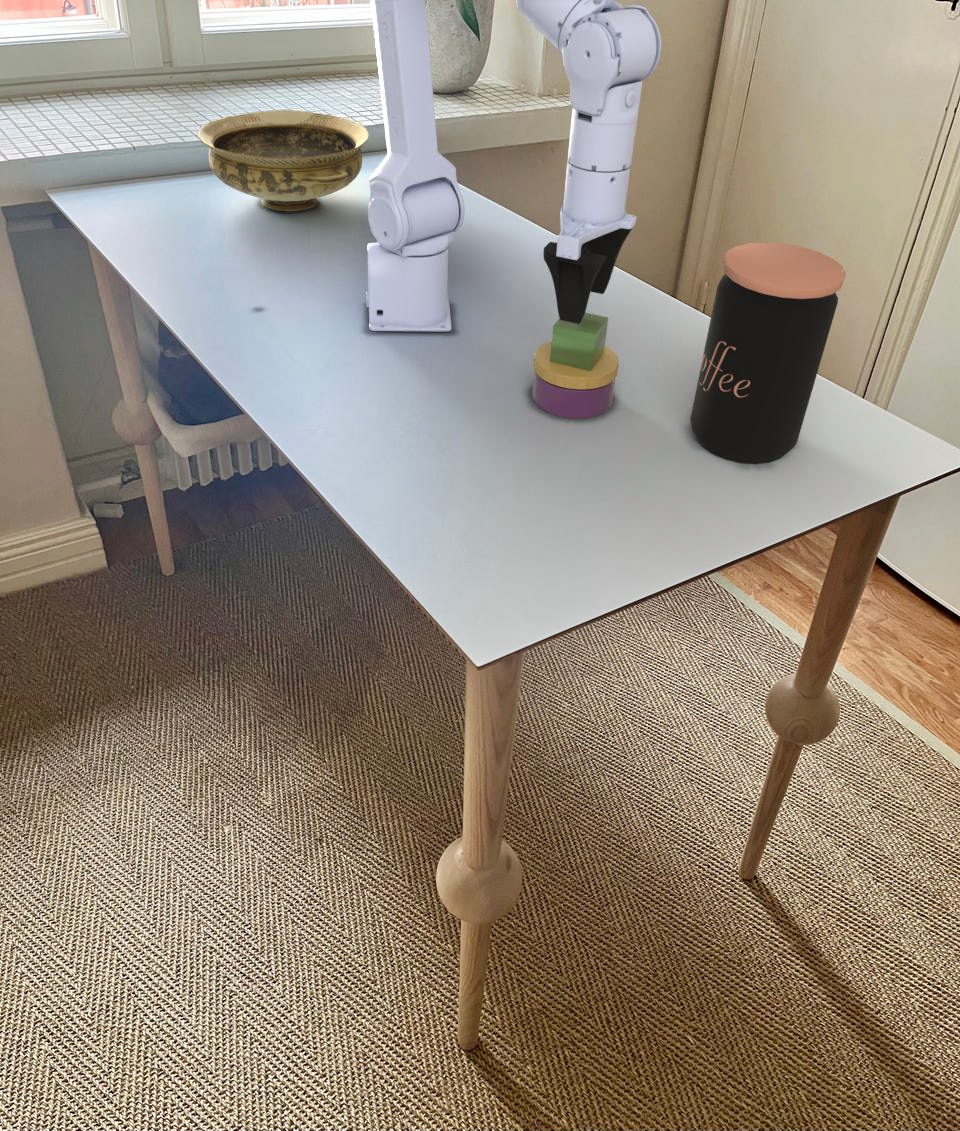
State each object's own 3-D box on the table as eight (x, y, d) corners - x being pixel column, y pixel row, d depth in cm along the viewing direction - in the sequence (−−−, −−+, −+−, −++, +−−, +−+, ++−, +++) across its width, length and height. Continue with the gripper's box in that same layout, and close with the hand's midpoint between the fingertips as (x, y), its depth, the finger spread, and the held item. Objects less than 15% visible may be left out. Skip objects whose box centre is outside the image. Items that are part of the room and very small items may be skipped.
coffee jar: (676, 411, 101) (709, 241, 90) (775, 411, 102) (821, 242, 91) (703, 468, 93) (743, 288, 82) (811, 467, 94) (865, 289, 83)
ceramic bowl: (412, 220, 141) (412, 148, 134) (259, 251, 130) (251, 173, 123) (315, 162, 159) (310, 96, 153) (174, 184, 148) (163, 114, 142)
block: (591, 371, 97) (595, 334, 95) (549, 361, 99) (553, 325, 96) (603, 353, 101) (608, 317, 98) (563, 344, 102) (567, 308, 99)
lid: (538, 389, 97) (539, 378, 96) (529, 349, 103) (530, 338, 103) (624, 390, 97) (626, 378, 97) (609, 350, 104) (611, 338, 103)
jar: (537, 418, 99) (540, 381, 96) (528, 378, 105) (531, 343, 103) (618, 418, 100) (624, 382, 97) (604, 379, 106) (609, 343, 103)
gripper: (619, 193, 81) (599, 343, 90) (662, 148, 92) (641, 286, 100) (539, 179, 83) (528, 327, 92) (591, 137, 93) (576, 273, 102)
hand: (582, 305), depth 96 cm, fingers open, 7 cm apart
